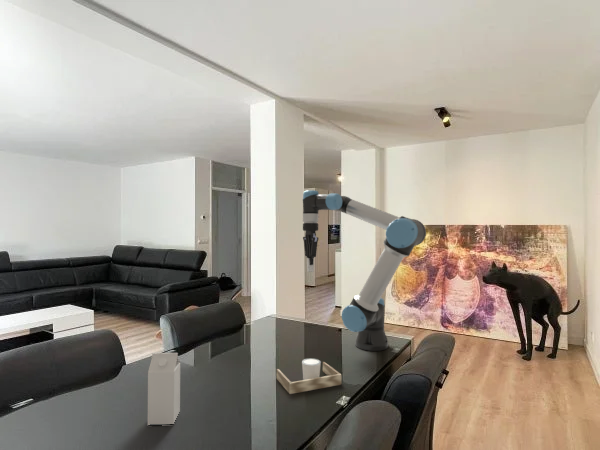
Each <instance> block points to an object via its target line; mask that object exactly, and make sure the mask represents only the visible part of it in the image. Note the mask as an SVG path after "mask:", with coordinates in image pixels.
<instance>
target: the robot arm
mask: <svg viewBox="0 0 600 450" xmlns="http://www.w3.org/2000/svg"><path fill="white" fill-rule="evenodd" d="M319 211H336V212H337V211H338V212H341V213H344V214H346V215H348V216H351V217H354V218H356V219H358V220H360V221H364V222H366V223H368V224H371V225H374V226H375V227H379V228H381V229H382V230H385V238H384V240H383V246H384V248H383V250H382V252H381V254H380V255H379V258H378V259H377V261H376V263H375V264H374V266H373V268H372V270H371V272H370V274H369V276H368V278H367V279H366V281H365V283H364V284H363V287H362V289H361V291H360V293H359V294H355V295H353V298H352V299H351V301H350V304H349V305H346V306H345V307H344V308H343V310H342V312H341V319H342V324H343V326H345V328H346V329H347V330H349V332H350V331H351V332H353V333H357V334H356V337H355V340H354V342H355V344H354V345H355V347H356V348H358V349H360V350H365V351H372V352H380V351H385V350H387V349H388V348H389V341H388V338H387V335H386V331H385V305H386V304H385V299H384V298H382V296H383V295H384V293H385V291H386V289H387V287H388V286H389V284H390V283H391V280H392V279H393V277H394V275H395V274H396V272H397V270H398V268H399V266H400V264H401V263H402V261H403V259H404V258H407V257H410V254H411V253H412V251H413V249H414V248H415V247H416V246H418V245H421V244H422V243H423V242H424V241H425V238H426V236H427V231H426V227H425V224H424V223H423V222H421V221H420V220H418V219H415V218H409V217H406V216H403V215H402V216H398V215H394V214H391V213H388V212H386V211H383V210H381V209H379V208H376V207H373V206H371V205H368V204H365V203H362V202H360V201H357V200H355V199H352V198H350V197H349V196H346V195H340V193H331V192H330V193H322V194H320V193H319V191H318V190H316V189H315V190H313V189H312V190H311V189H310V190H309V189H308V190H304V191H303V193H302V230H303V231H304V232H305V234H304V235H305V236H303V237H302V239H303V247H304V256H305V257H306V259H307V260H306V271H307V273H308V272H309V273H310V272H312V273H313V272H315V271H314V267H315V266H314V265H315V264H314V261H315V260H314V259H315V258H316V257H317V250H318V248H317V247H318V241H319V237H317V234H316V233H317V232H318V231H319V218H320V216H319Z"/></svg>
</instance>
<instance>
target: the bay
mask: <svg viewBox="0 0 600 450" xmlns="http://www.w3.org/2000/svg"><path fill="white" fill-rule="evenodd" d="M322 372H323V373H324V374H326V375H325V376H319V377H318V378H313V379H307V380H303V379H302V380H297V381H291V380H290V379H289V378H288V377H287V376H286V374H284V373H283V372H282V371H281V370H280V369H279V368H277V369H276V381H278V382H279V384H280V385H281V386H282V387H283V388H284V389H285V391H286V392H287V393H288V394H289V395H292V394H297V393H303V392H308V391H313V390H318V389H325V388H330V387H335V386H341V385H342V374H341V373H340V372H339V371H338V370H336V369H335V368H334V367H333V366H331V365H329V364H328V363H326V362H325V361H322Z"/></svg>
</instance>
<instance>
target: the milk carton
mask: <svg viewBox="0 0 600 450" xmlns="http://www.w3.org/2000/svg"><path fill="white" fill-rule="evenodd" d="M178 354H179V353H178V352H160V353H159V352H157V353H152V354H151V361H150V365H149V367H148V369H147V370H148V371H147V373H148V374H147V426H148V425H150V424H174V425H175V423H176V421H177V419H178V417H179V415H180V413H181V407H180V406H181V360H180V359H179V355H178ZM179 412H180V413H179ZM178 414H179V415H178ZM177 416H178V417H177ZM176 418H177V419H176ZM175 420H176V421H175ZM174 422H175V423H174Z"/></svg>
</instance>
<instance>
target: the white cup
mask: <svg viewBox="0 0 600 450" xmlns="http://www.w3.org/2000/svg"><path fill="white" fill-rule="evenodd" d="M321 363H322V361H321V360H319V359H318V358H304V359H302V361H301V368H302V380H307V379H313V378H318V377H321V376H320V374H321Z"/></svg>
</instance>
